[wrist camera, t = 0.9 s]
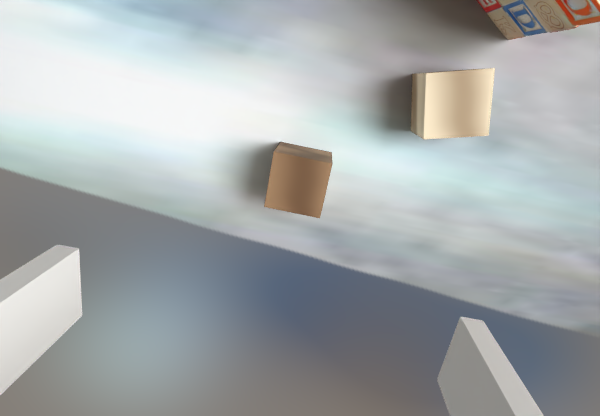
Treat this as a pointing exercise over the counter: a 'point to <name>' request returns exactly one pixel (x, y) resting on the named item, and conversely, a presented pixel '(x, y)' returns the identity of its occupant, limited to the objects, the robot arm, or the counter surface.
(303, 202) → the walnut cube
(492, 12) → the stack of blocks
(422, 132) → the maple cube
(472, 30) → the counter surface
